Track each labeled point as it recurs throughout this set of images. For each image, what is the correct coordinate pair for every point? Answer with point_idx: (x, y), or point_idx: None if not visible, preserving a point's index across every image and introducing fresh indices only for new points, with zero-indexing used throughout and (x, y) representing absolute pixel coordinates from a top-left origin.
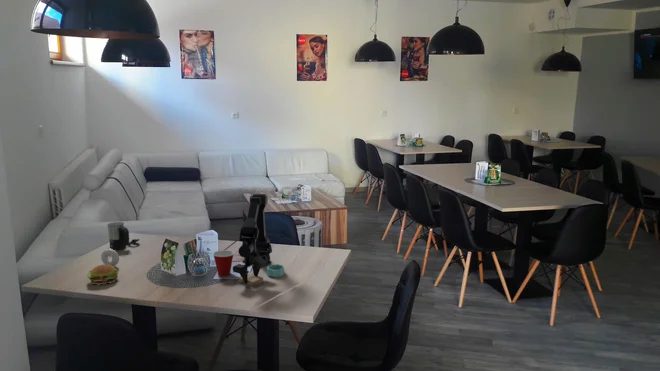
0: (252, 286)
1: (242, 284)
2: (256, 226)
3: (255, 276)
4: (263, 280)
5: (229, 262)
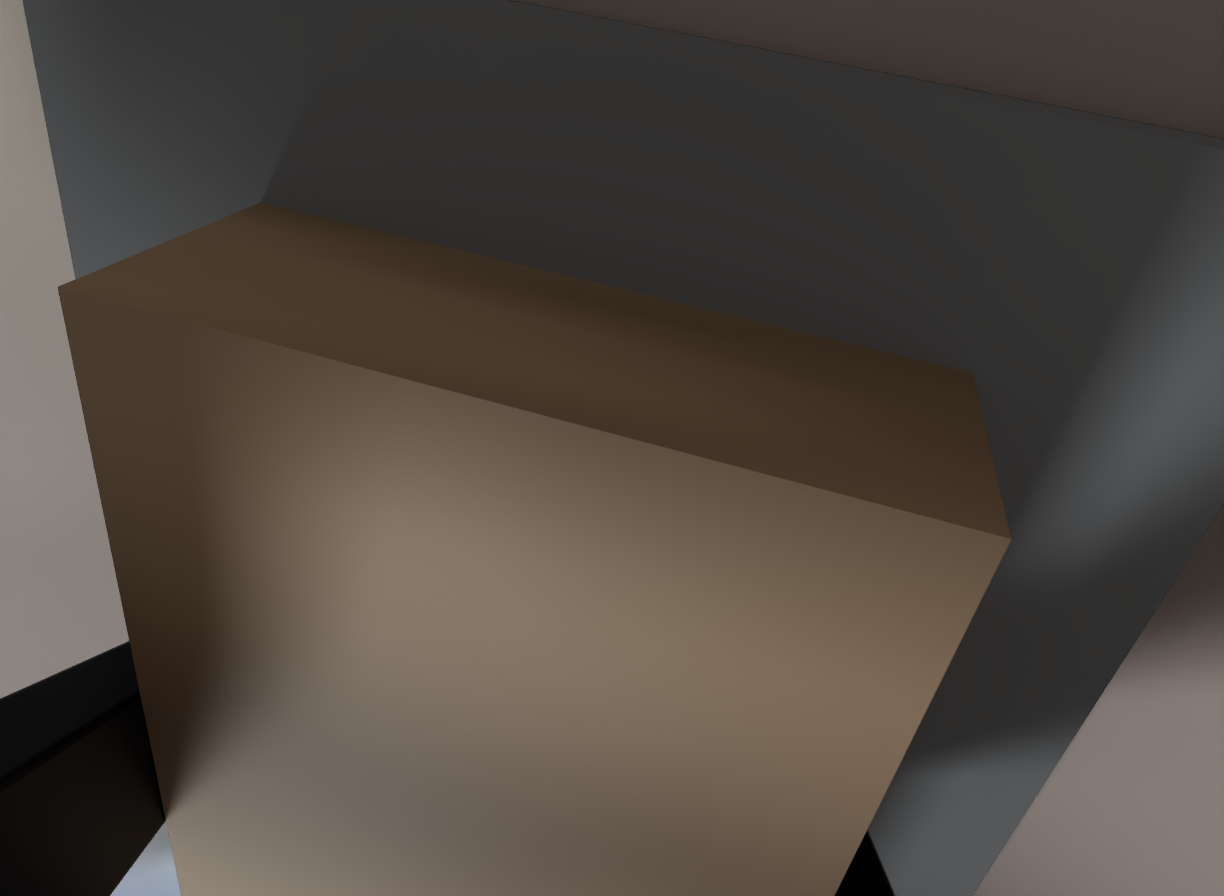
0: None
1: None
2: None
3: (220, 729)
4: None
5: None
